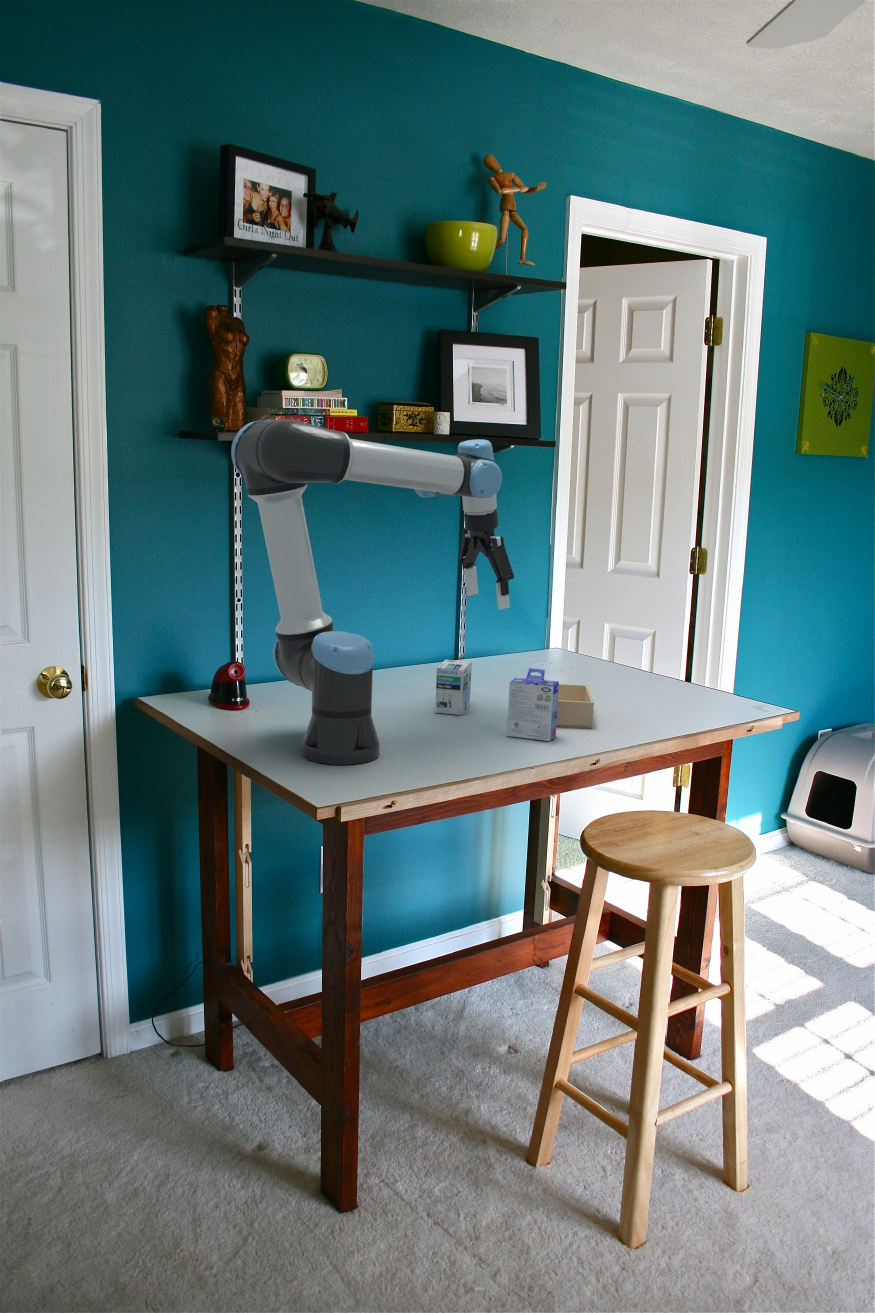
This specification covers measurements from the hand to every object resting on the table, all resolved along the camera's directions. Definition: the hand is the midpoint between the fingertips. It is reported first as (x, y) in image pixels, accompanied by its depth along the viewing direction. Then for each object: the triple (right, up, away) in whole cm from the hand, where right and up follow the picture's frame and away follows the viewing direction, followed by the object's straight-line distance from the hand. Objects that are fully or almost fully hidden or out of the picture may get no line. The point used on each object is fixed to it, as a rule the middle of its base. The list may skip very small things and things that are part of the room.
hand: (487, 601), depth 228 cm
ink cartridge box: (+9, -30, -16) cm, 35 cm away
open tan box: (+17, -25, +12) cm, 32 cm away
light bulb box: (-8, -25, +5) cm, 27 cm away
